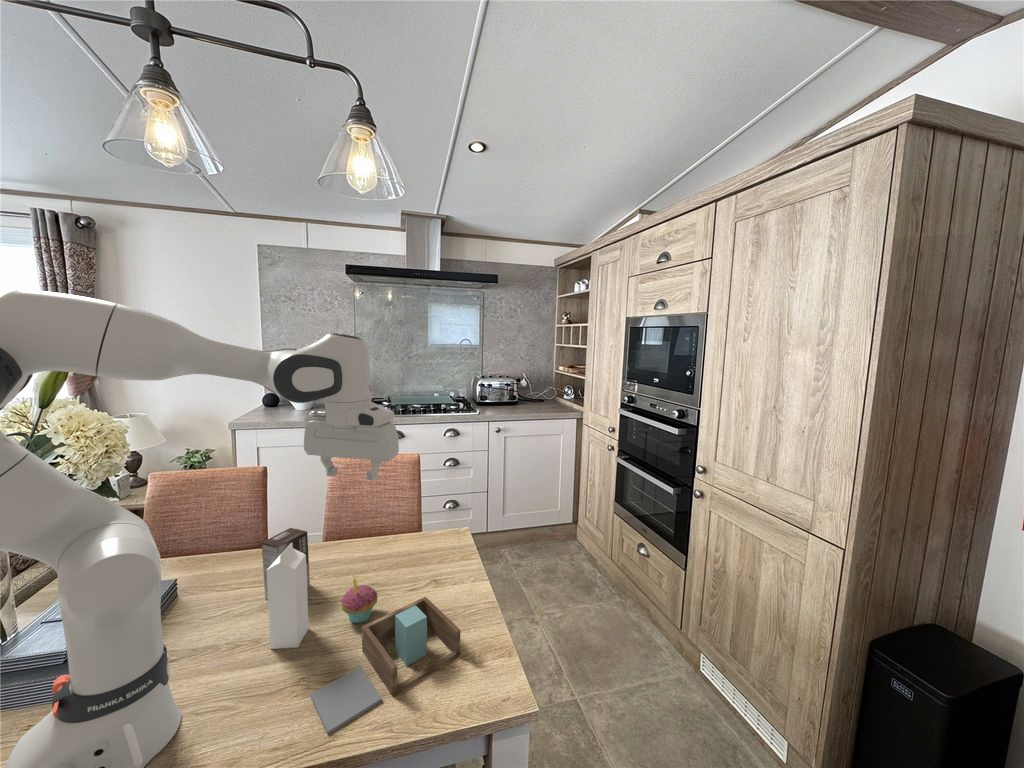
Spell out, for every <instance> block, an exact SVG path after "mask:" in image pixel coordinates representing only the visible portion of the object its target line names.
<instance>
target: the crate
mask: <svg viewBox="0 0 1024 768" xmlns="http://www.w3.org/2000/svg"><path fill="white" fill-rule="evenodd" d="M415 605H416V606H417V607H418V608H419V609H420V610H421V611H422V612H423V613H424V614H425V615H426V616H427V629H429V630H430V631H431V632H432V633H433V634H434V635H435V636H436V637H437V638H438V639H439V640H440V642H442V644H444V646H445V647H446V648H447V649H448V650H449V651H450V653H449V654H447V655H445V656H443V657H441V658H440V659H438V660H437V661H435V662H434V663H432V664H430V665H428V666H427V667H425V668H424V669H422V670H421V671H419V672H417V673H415V674H413V676H411V677H409V678H407V679H405V680H404V681H403V682H401V683H399V684H398V665H397V663H396V662H395V661H394V659H393V658H392V657H391V656H390V655H389V653H388V652H387V650H386V649H385V648H384V646H383V645H385V644H386V643H388V642H390V641H392V640H395V615H396V614H398V613H400V612H403V611H405V610H407V609H409V608H411V607H413V606H415ZM361 651H362V653H363V655H364V656H365V658H366V659H367V660H368V662H369V664H370V665H371V667H372V668H373V670H374V671H375V673H376V674H377V676H378V677H379V679H380V680H381V682H382V683H383V685H384V686H385V688H386V689H387V690H388V692H389V694H390V695H391V697H395V696H396V695H398V694H399V693H401V692H403V691H404V690H406V689H407V688H410V686H413V685H414V684H416V683H418V682H419V681H421V680H422V679H424V678H425V677H426V676H429V675H430V674H431V673H433V672H435V671H436V670H438V669H440V668H442V667H443V666H444V665H446V664H447V663H450V661H452V660H454V659H456V658H457V657H459V656H460V655H461V629H460V628H459V626H457V625H456V624H455V623H454V622H453V621H452V620H451V619H450V618H449V617H448V616H447V615H446V614H444V612H443V611H441V610H440V609H439V608H438V607H437V606H436V605H435V604H434V603H433V602H432V601H431V600H430V599H429V598H427V596H423V597H421V598H419V599H417V600H415V601H413V602H411V603H409V604H407V605H404V606H403V607H401V608H398V609H395V610H394V611H392V612H389V613H388V614H385V615H384V616H382V617H379V618H377V619H375V620H373V621H371V622H368V623H367V624H363V626H361Z"/></svg>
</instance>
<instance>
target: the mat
mask: <svg viewBox="0 0 1024 768" xmlns="http://www.w3.org/2000/svg"><path fill="white" fill-rule="evenodd" d="M310 698H311V700H312V703H313V705H314V708H315V710H316V712H317V714H318V717H319V719H320V721H321V723H322V725H323V728H324V730H325V733H326V734H327V735H330V734H331V733H333V732H334V731H336V730H339V728H341V727H342V726H344V725H346V724H348V723H349V722H350V721H352V720H354V719H356V718H357V717H359V716H361V715H362V714H363V713H365V712H367V711H369V710H370V709H372V708H374V707H375V706H376V705H378V704H379V703H381V702H383V698H382V696H381V695H380V693H379V692H378V690H377V689H376V687H375V685H374V684H373V682H372V681H371V679H370V678H369V676H368V675H367V673H366V671H365V670H364V668H363V667H362V666H359V667H357V668H355V669H353V670H352V671H350V672H348V673H346V674H344V675H342V676H340V677H338V678H337V679H335V680H333V681H331V682H330V683H328V684H325V685H324V686H322V687H321V688H318V689H317V690H314V691H313V692H311V693H310Z"/></svg>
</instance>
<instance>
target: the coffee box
mask: <svg viewBox="0 0 1024 768" xmlns="http://www.w3.org/2000/svg"><path fill="white" fill-rule="evenodd" d="M308 539H309V538H308V531H307V530H302V529H300V528H293V527H289V528H288V529H287V528H286V529H285V530H283V531H281V532H279V533H277V534H275V535H273V536H271V537H270V538H268V539H266V540H263V541H261V550H262V551H261V553H262V556H261V557H262V569H263V570H262V571H263V584H264V599H265V600H268V588H267V569H268V568H269V567H270V566H271V565H272V563H273V562H274V561H275V560H276V559H277V558H278V557H279V556H280V555H281V554H282V553H283V552H284V551H285V550H286V548H287V547H288V546H289V545H290V544H291V543H292V544H293V549H295V550H297V551H299V552H301V553H304V554H305V555H306V571H307V587H309V586H310V585H311V581H310V561H309V559H310V556H309V541H308Z"/></svg>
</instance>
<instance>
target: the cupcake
mask: <svg viewBox="0 0 1024 768" xmlns="http://www.w3.org/2000/svg"><path fill="white" fill-rule="evenodd" d="M352 583H353V588H350V589H349V590H348V591H346V592H345V594H344V595H343V596H342V598H341V601H340V603H341V606H340V607H341V610H342V611H343V612H344V613H345V614H347V615H348V618H349V620H350V622H352V623H353V624H354V623H355V624H359V623H364V622H365V621H367V620H369V618H370V616H371V613H372V610H373V608H374V606H375V605H376V604H377V602H378V592H377V591H376V590H375V589H374V588H373V587H371V586H369V585H358V584H357V578H356V577H355V576H354V575H353V578H352Z"/></svg>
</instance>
